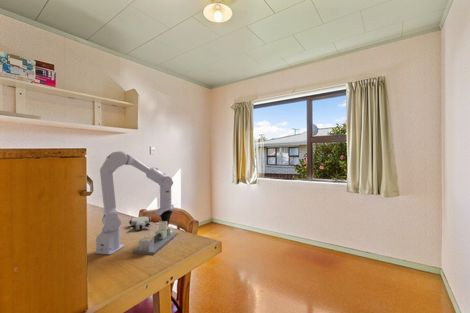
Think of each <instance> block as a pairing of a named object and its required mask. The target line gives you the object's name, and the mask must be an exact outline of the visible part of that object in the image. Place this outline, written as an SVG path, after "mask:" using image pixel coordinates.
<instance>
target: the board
mask: <svg viewBox="0 0 470 313" xmlns="http://www.w3.org/2000/svg"><path fill="white" fill-rule="evenodd" d="M167 229H168V232H167V237H165V238H164V239H157V240H155V241H154V248H153V249H152V250H150V251H139V246H137V247H136V248H134V249H133V250H132V254H142V255H143V254H144V255H155V254H157V253H158V252H159V251H160V250H161V249H163V248H164V247H165V246H167V245H168V243H170V242H171V241H172V240H174V239H175V238H176V237H177V236H178V235H179V232H174V231H173V225H168V226H167ZM177 234H178V235H177ZM176 235H177V236H176ZM175 236H176V237H175ZM153 237H155V235H153V236H151V238H153ZM174 237H175V238H174Z"/></svg>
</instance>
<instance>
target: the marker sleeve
mask: <svg viewBox="0 0 470 313" xmlns="http://www.w3.org/2000/svg"><path fill="white" fill-rule="evenodd" d="M167 229H168V225H167V221H162V220H159V221H158V229H157V230H156V231H155V232H154V233H155V234H154V236H156V235H158V234H161V237H159V238H158V239H164V238H165V237H167Z"/></svg>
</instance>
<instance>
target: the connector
mask: <svg viewBox="0 0 470 313" xmlns="http://www.w3.org/2000/svg"><path fill="white" fill-rule="evenodd" d="M138 247H139V251H150V250H152V249H153V248H154V238H152V236H151V237H150V236H149V237H147V236H144V237H142V238H140V239H139V240H138Z"/></svg>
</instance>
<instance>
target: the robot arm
mask: <svg viewBox="0 0 470 313" xmlns="http://www.w3.org/2000/svg"><path fill="white" fill-rule="evenodd" d="M122 166H132V167H133V168H135V169H137V170H139V171H141V172H143V173H144V174H145V176H146V178H147V179H149V180H151V181H152V182H154V183H156V184H158V186H159V208H158V210H156V215H157V216H159V217H160V218H161V221H167V226H169V223H170V218H171V216H172V214H173V210H174V204H172V186H174V181H173V179H172V178H171V177H170V176H167V173H165V172H161V171H160V170H159V168H158V167H148V166H147V165H145V164H144V163H143V162H141V161H140V160H139V159H136V157H133V156H132V155H130V154H127V153H126V152H123V151H113V152H111V153H110V154H109V155H108V156H106V158H105V160H104V162H103V163H102V165H101V167H100V168H99V173H100V174H99V175H100V176H99V177H100V185H101V186H100V187H101V193H102V194H101V195H102V203H103V217H102V218H101V222H102V224H103V227H102V229H101V232H100V233H99V234H98V235H97V236H96V240H95V243H96V244H95V247H96V248H95V251H94V254H99V255H112V254H115V252H117V251H119V250H120V249H122V248H124V247H125V244H121V224H122V220H121V219H120V218H119V215H118V211H117V210H118V209H117V204H116V195H115V184H114V176H113V173H114V172H116V170H118V169H119V168H120V167H122Z"/></svg>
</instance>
